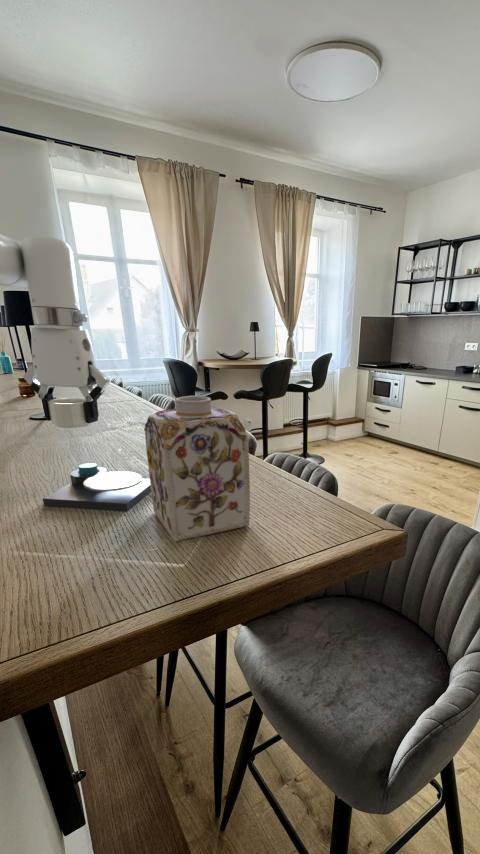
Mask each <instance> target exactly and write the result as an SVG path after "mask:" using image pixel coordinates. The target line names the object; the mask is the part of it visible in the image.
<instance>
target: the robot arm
mask: <svg viewBox="0 0 480 854" xmlns="http://www.w3.org/2000/svg"><path fill="white" fill-rule="evenodd" d="M74 262H75V261H74V254H73V250H72V248H71V246H70V245H69V243H68V242H66V241H64V240H62V239H58V238H55V237H49V236H41V235H31V236H26V237H24V238H23V239H22V240H17V239H14V238H11V237H8V236H6V235H4V234H1V233H0V286H4V287H9V288H25V287H27V289H28V295H29V301H30V307H31V313H32V314H31V315H32V321H33V324H34V327H31V335H30V336H31V338H30V339H31V340H30V342H31V343H30V345H31V346H30V347H31V357H32V358H31V359H32V366H31V367H30V368H28V370H27V371H26V372H25V373H24V374H23V376H22V378H23V379H24V381H25V382H26V383H27V384H28V385H29V386H30V388H31V389H32V390H33V391H34V393H36V394H37V397H38V398H39V399H40V400H41V401H42V402H41V403H42V406H43V413H44V416H45V421H48V422H49V421H50V422H51V419H50V412H49V407H48V401H49V400H54V399H57V397H55V396H54V394H55V391H56V389H57V387H62V388H78V390H79V391H80V393H81V394H82V397H84V399H86V401H85V402H84V403H83V405H84V412H85V420H86V422H87V423H91V424H93V423H96V422H98V420H99V416H100V415H99V406H98V400H99V399H100V398H101V396H102V395H103V393H104V392H105V391H106V389H107V387H108V386H109V384H110V382H111V380H110V378H109V377H107V376H106V375H105V374H104V373H103V372H102V371H101V370H99V369H98V366H97V359H96V355H95V352H94V348H93V343H92V340H91V337H90V333H89V332H88V329H83V326H84V325H83V323H87V322H88V316H87V315H86V314H85V313H82V310H81V309H80V302H79V292H78V286H77V285H78V284H77V278H76V277H77V276H76V269H75V263H74ZM95 385H96V386H95ZM94 386H95V387H94Z"/></svg>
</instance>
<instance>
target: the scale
mask: <svg viewBox="0 0 480 854" xmlns="http://www.w3.org/2000/svg"><path fill="white" fill-rule="evenodd" d="M97 468H98V473H96V474H91V475H80V473H79V468H77V469H75V470H72V471H71V472H70V474H69V477H70V481H71V482H70V483H68V484H66V485H64V486H63V487H61V488H59V489H57V490H56V491H54V492H52V493H50V494H49V495H47V496H45V497H42V503H43V507H51V508H65V509H81V510H83V509H84V510H94V511H110V512H111V511H112V512H126V513H128V512H129V511H131V509H133V508H134V507H135V506H136V505H137V504H139V503H140V502H141V501H142V500H144V498H146V497H147V496H148V495H150V494H151V487H150V478H142V481H141V482H140V483H139V484H138V485H136V486H134V487H131V488H127V489H123V490H117V491H92V490H89V489H86V488H85V487H84V484H83V483H84V481H85V480H86V479H88V478H89V477H92V476H95V475H98V474H103V473H108V470H107V468H105V467H102V466H97Z"/></svg>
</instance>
